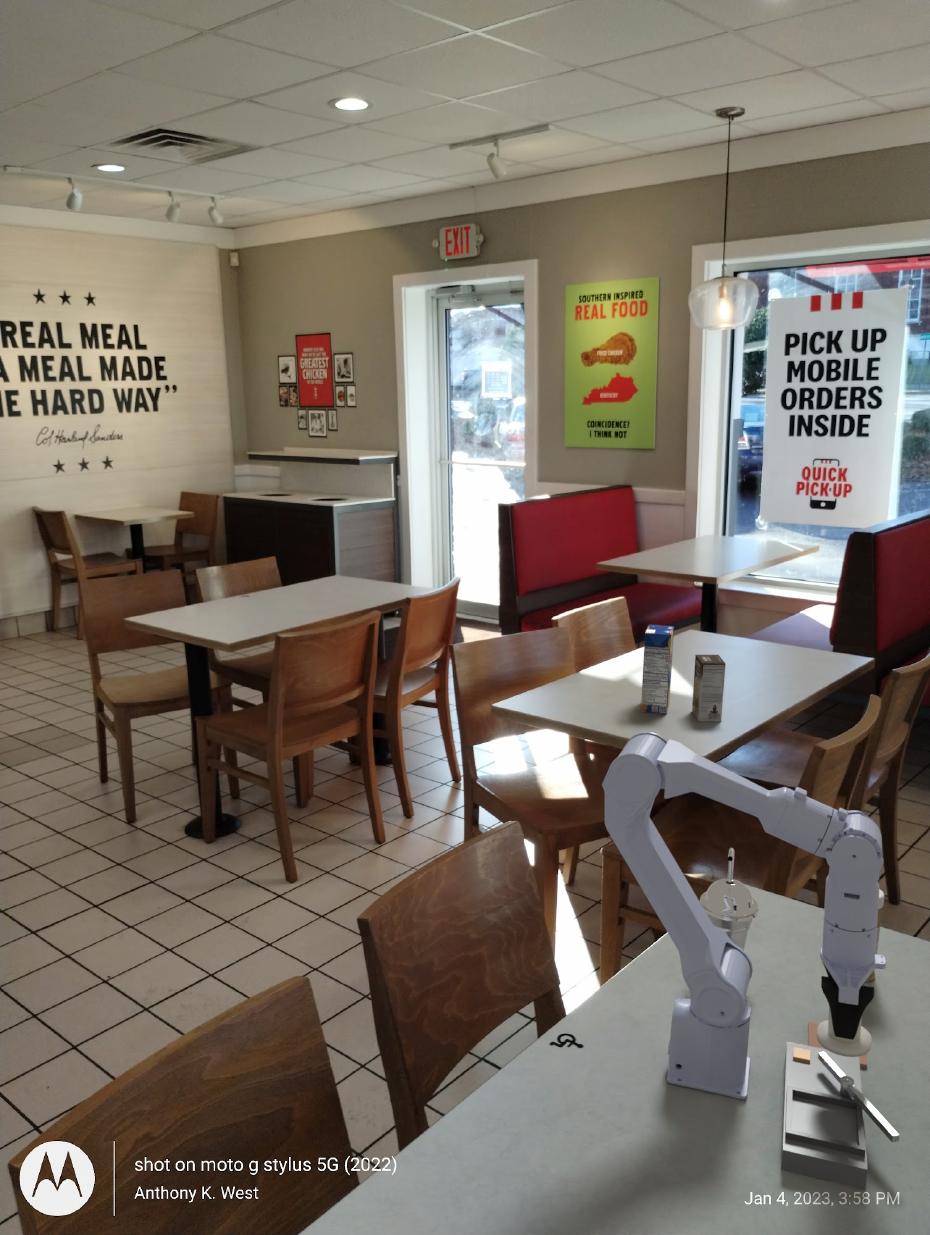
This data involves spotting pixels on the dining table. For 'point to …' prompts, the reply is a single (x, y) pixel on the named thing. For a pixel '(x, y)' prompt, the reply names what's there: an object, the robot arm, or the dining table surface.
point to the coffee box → (708, 687)
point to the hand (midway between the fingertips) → (844, 1026)
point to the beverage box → (657, 669)
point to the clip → (858, 1097)
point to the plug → (843, 1040)
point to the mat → (814, 1043)
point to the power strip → (822, 1119)
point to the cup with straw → (730, 906)
